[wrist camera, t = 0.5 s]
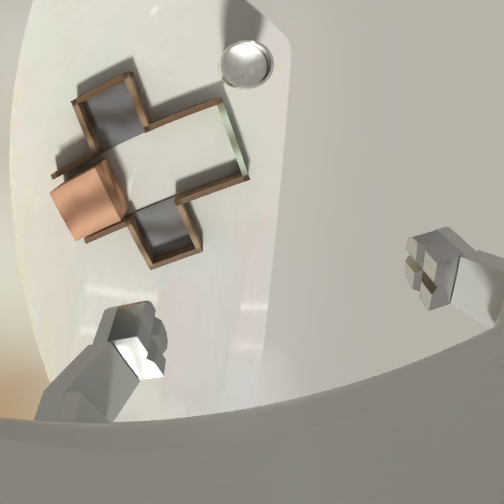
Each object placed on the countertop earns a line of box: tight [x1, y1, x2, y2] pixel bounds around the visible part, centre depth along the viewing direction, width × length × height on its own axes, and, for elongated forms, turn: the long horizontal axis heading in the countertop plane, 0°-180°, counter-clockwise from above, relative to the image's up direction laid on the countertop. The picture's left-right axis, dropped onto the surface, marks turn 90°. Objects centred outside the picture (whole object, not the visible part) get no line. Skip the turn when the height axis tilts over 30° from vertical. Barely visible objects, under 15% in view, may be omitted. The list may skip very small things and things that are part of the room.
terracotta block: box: [50, 159, 129, 241], centre depth 51 cm, size 10×10×7 cm
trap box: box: [51, 72, 250, 270], centre depth 52 cm, size 35×33×3 cm
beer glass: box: [218, 40, 274, 90], centre depth 41 cm, size 7×7×15 cm
